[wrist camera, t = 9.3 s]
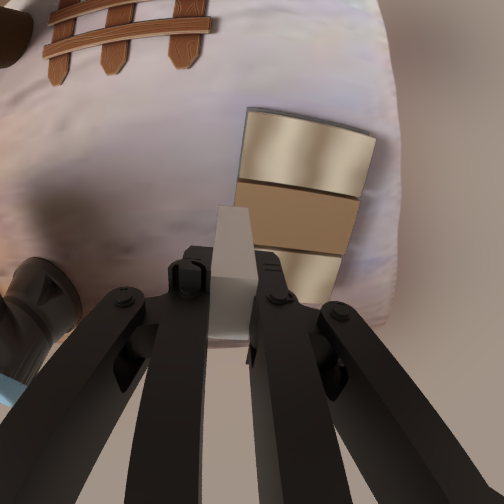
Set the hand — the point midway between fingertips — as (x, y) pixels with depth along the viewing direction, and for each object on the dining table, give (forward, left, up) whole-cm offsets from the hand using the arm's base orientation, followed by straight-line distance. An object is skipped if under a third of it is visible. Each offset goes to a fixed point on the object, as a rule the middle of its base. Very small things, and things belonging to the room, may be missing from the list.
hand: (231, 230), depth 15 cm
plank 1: (+7, +3, -17) cm, 18 cm away
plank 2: (+7, -12, -17) cm, 22 cm away
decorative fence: (-17, +18, -20) cm, 31 cm away
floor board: (+7, -5, -19) cm, 20 cm away
